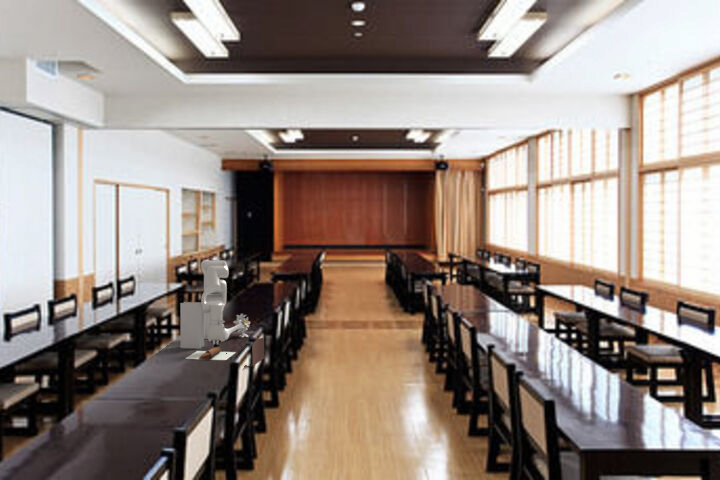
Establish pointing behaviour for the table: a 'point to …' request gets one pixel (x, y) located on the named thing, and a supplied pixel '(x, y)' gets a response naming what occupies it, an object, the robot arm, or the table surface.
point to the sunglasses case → (210, 353)
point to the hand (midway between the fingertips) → (216, 350)
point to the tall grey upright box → (192, 325)
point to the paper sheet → (217, 357)
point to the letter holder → (256, 351)
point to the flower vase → (238, 326)
